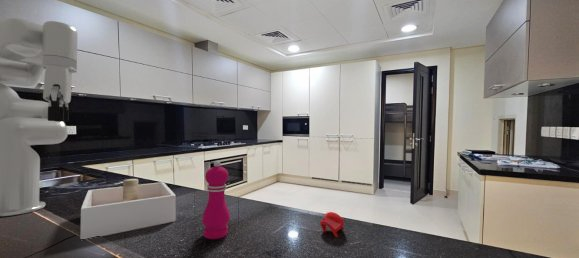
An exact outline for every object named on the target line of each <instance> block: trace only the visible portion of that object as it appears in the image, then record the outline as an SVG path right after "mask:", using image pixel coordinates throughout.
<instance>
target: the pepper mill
mask: <svg viewBox="0 0 579 258" xmlns="http://www.w3.org/2000/svg"><path fill="white" fill-rule="evenodd" d="M221 164H222V163H221V162H220V161H219V160H216V161H214V162H213V166H211V167H210V168H209V169H207V171H206V173H205V175H204V177H205V181H206V182H207V185H206V187H207V189H206V190H207V192H208V201H207V203H206V206H205V209H204V211H203V214H202V218H201V222H202V224H203V226H204V228H203V237H204V238H206V239H208V240H219V239H223V238H224V237H226V236H227V235H228V233H229V227H228V223H229V222H230V220H231V214H230V209H229V208H228V205H227V201H226V198H225V191H226V190H227V184H226V182H228V180H229V171H228V169H226V168H225V167H222V166H221Z"/></svg>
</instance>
